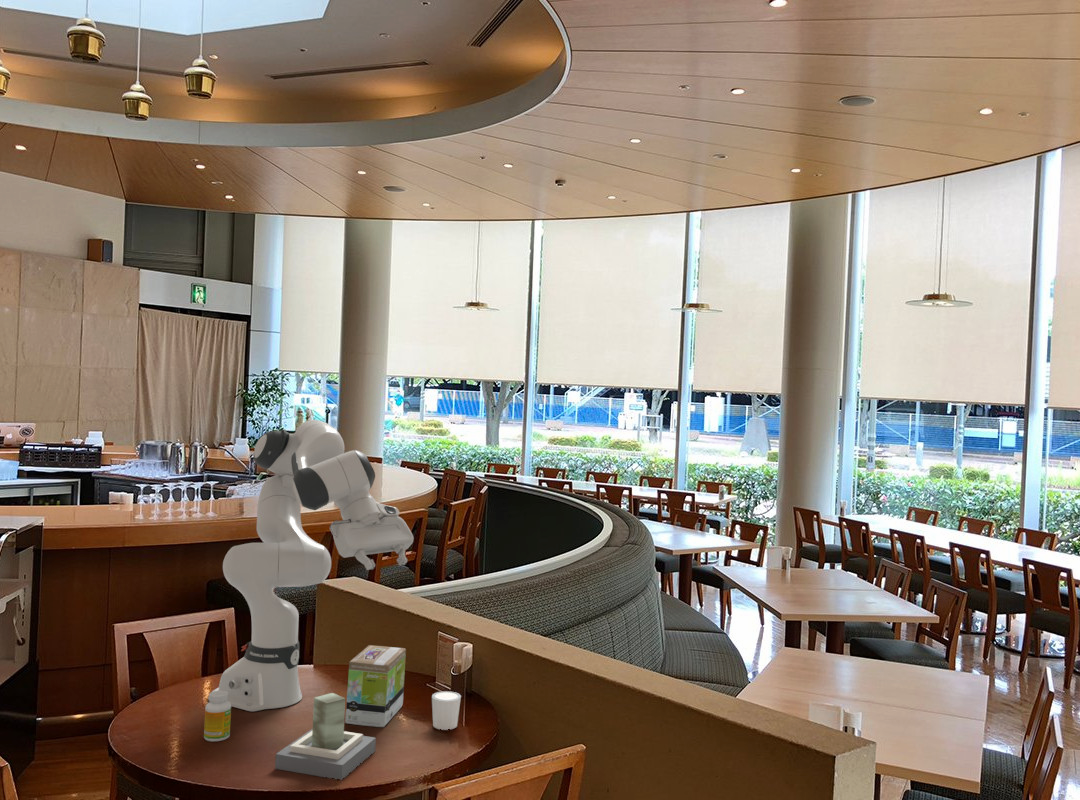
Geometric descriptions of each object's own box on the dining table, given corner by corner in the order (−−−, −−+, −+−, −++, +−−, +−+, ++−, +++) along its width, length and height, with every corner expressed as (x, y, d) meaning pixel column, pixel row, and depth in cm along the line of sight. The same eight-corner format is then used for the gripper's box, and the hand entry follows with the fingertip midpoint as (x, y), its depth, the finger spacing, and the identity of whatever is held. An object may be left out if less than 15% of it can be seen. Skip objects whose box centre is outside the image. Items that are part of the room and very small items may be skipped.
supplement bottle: (227, 741, 189) (229, 697, 189) (201, 742, 188) (203, 697, 188) (231, 732, 194) (233, 689, 194) (206, 732, 193) (208, 689, 193)
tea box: (386, 728, 200) (388, 664, 200) (344, 724, 202) (346, 661, 202) (404, 705, 215) (406, 646, 215) (365, 702, 217) (367, 643, 217)
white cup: (454, 732, 200) (456, 702, 200) (426, 728, 201) (427, 698, 201) (463, 721, 206) (464, 692, 206) (435, 718, 208) (437, 689, 208)
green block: (311, 745, 182) (313, 697, 182) (330, 739, 185) (332, 692, 185) (324, 751, 179) (326, 703, 179) (343, 745, 182) (345, 698, 182)
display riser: (275, 768, 177) (275, 748, 177) (313, 741, 191) (313, 722, 191) (341, 780, 173) (342, 759, 173) (375, 751, 187) (376, 732, 187)
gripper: (333, 513, 198) (357, 562, 192) (402, 507, 214) (427, 553, 207) (321, 530, 201) (344, 579, 195) (390, 523, 217) (414, 568, 210)
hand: (387, 565), depth 201 cm, fingers open, 8 cm apart
